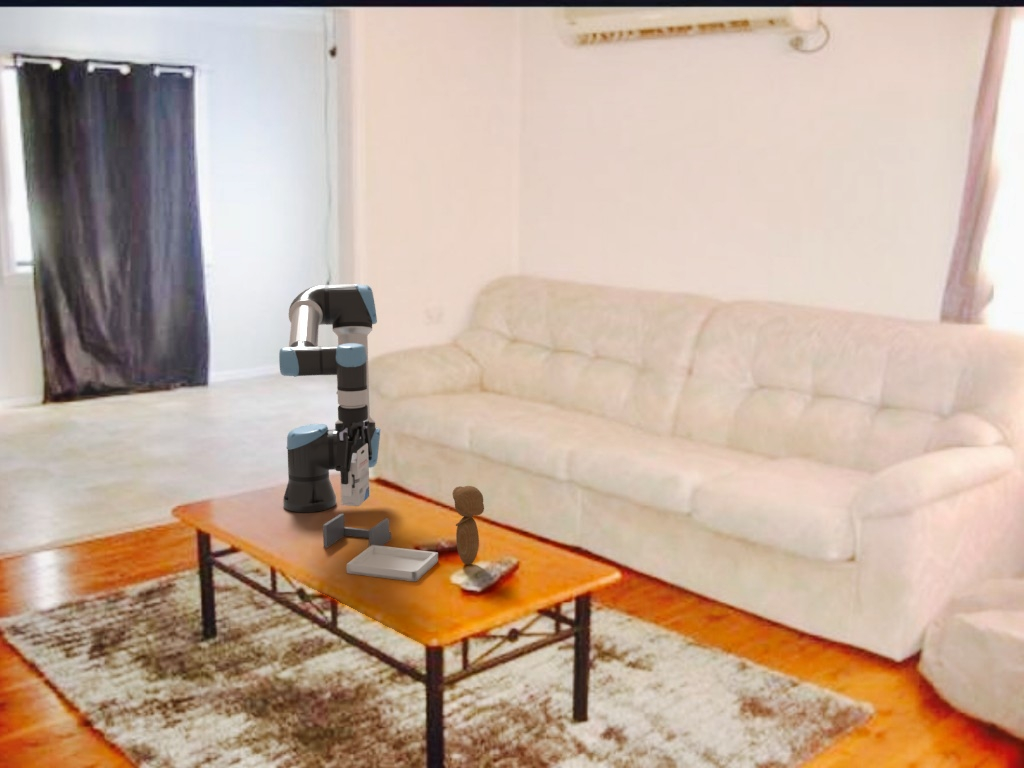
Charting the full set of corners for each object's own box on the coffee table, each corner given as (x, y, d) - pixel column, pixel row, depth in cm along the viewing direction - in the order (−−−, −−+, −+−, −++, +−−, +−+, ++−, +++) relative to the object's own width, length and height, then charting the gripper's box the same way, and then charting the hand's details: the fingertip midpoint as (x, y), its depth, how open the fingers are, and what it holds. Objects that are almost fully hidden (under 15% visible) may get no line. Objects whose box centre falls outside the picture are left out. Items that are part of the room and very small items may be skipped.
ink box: (352, 495, 272) (350, 441, 269) (370, 496, 272) (368, 442, 268) (340, 505, 264) (338, 449, 261) (358, 506, 263) (357, 451, 260)
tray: (372, 553, 262) (371, 544, 262) (438, 561, 257) (437, 552, 256) (346, 573, 249) (346, 563, 249) (415, 581, 244) (415, 572, 243)
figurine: (465, 556, 260) (464, 479, 257) (490, 561, 257) (490, 483, 253) (447, 568, 253) (446, 489, 249) (472, 573, 249) (472, 493, 246)
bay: (343, 533, 277) (342, 512, 276) (391, 539, 273) (390, 517, 272) (323, 547, 267) (322, 525, 266) (373, 553, 263) (372, 530, 262)
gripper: (358, 395, 274) (360, 476, 278) (319, 413, 254) (322, 501, 258) (384, 397, 271) (386, 479, 276) (346, 415, 251) (349, 504, 256)
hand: (355, 489), depth 267 cm, fingers closed on ink box, 9 cm apart
